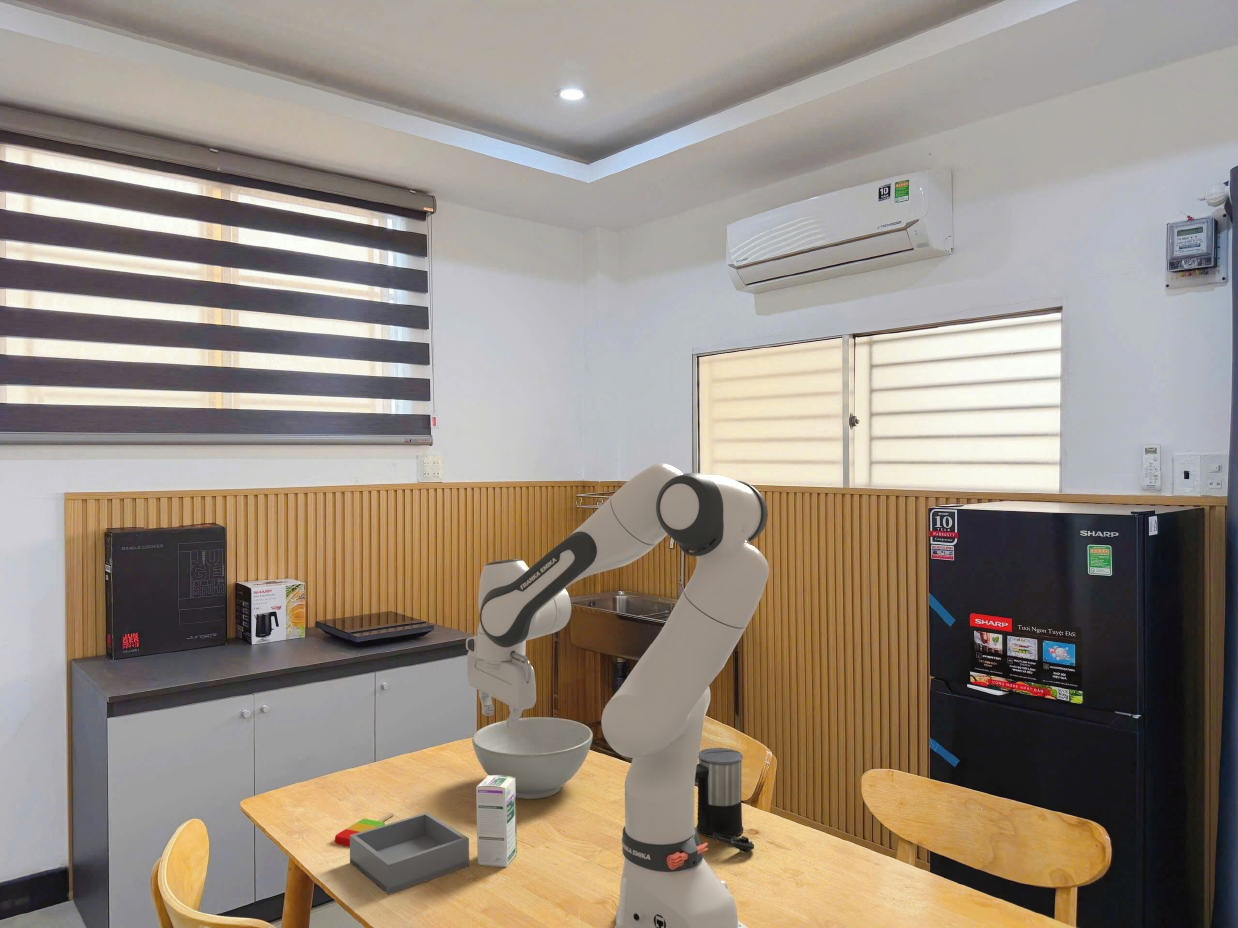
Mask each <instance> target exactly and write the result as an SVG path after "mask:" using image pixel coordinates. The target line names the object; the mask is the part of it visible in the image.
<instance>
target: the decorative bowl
mask: <svg viewBox="0 0 1238 928" xmlns="http://www.w3.org/2000/svg"><path fill="white" fill-rule="evenodd" d="M506 724H507V723H506V720H502V721H498V722H493V723H491V724H488V725H486V726H484V727H481V728H480V729H478V730H477V731H475V733H474V734H473V736H472V738H471V741H472V746H473V751H474V753H475V755H476V758H477V760H478V762H479V763H480V766H481V767H482V769H483V770H484V772H485V773H486V774H487V775H503V776H511V777H515V791H516V798H518V799H522V800H523V799H524V800H525V799H526V800H534V799H536V800H537V799H542V798H544V799H545V798H547V797H550V796H553V795H555V794H557V793H559V792H560V790H561V789H562V787H561V786H563V785H564V784H566V783H567V782H569V781H571V779H573V777H574V776H575V774H577V773H578V772H579V770H580V768H581V767H582V766H583V764H584V762H585V760H586V758H587V756H588V754H589V751H590V749H591V745H592V743H593V738H594V737H593V736H594V735H593V730H591V728H590V727H589V726H587V725H586V724H583V723H581V722H579V721H575V720H571V719H565V718H559V717H545V716H544V717H543V716H542V717H541V716H538V717H534V716H533V717H520V719H519V727H518V729H514V730H511V729H509V728H507V726H506Z"/></svg>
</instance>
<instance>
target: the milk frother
mask: <svg viewBox="0 0 1238 928" xmlns="http://www.w3.org/2000/svg"><path fill="white" fill-rule="evenodd" d="M743 758H744V755H743V753H741V752H740V751H738V750H735V749H731V748H723V747H712V748H705V749H702V750H701V749H700V750H699V756H698V763H697V767H696V775H695V782H696V781H697V824H696V830H697V832H699V833H701V834H702V835H704V836H706V837H710V838H713V839H714V840H715V841H718V842H721V843H723V844H727V845H729V846H730V847H733V848H735V849H738V850H739V851H741V852H743V853H747V852H748V850H751V851H753V850H755V844H754V843H753V840H750V838H749V837H747V836H744V835H743V836H742V835H741V834H742V833H743V832H744V826H743V811H742V810H743V809H742V807H743V806H742V805H743V803H742V802H743V801H742V798H743V795H742V793H743V792H742V788H743V786H742V784H743V782H742V780H743V779H742V778H743V777H742V776H743V774H742V773H743V772H742V767H743V764H742V763H743V762H742V760H743ZM740 835H741V837H740ZM738 836H739V837H738Z"/></svg>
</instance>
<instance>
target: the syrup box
mask: <svg viewBox="0 0 1238 928" xmlns="http://www.w3.org/2000/svg"><path fill="white" fill-rule="evenodd" d="M475 795H476V797H475V798H476V800H475V801H476V803H475V804H476V838H477V839H476V840H477V843H476V844H477V864H478V865H480V866H486V867H487V866H488V867H495V868H496V867H497V868H498V867H500V868H507V867H509V865H510V863H511V862H512V861H513V859H514V858H515V856H516V855H517V853H518V843H517V841H518V839H517V837H518V836H517V835H518V834H517V799H516V798H517V797H516V791H515V777H511V776H503V775H488V774H487V775H486V777H485V778H484V779H483V780H481V782H479V784H478V785H477V786H476V788H475Z"/></svg>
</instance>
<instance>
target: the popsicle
mask: <svg viewBox="0 0 1238 928" xmlns="http://www.w3.org/2000/svg"><path fill="white" fill-rule="evenodd" d="M393 816H395V815H394V812H393V813H388V814H387V815H385V816H383V817H382V818H380V819H378V820H374V819H368V818H362V819H360V820H359V821H357V822H354V823H353V824H351V825H350V826H348V827H347V828H345V829H344V830H342V831H340V832H338V833H337V834H336V835H335V836H334V843H335V844H336V845H338V846H344V847H349V848H350V835H353V834H356V833H359V832H363V831H366V830H369V829H373V828H376V827H379V826H383V825H386V823H385V821H386V820H389V819H390V818H392V817H393Z"/></svg>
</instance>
